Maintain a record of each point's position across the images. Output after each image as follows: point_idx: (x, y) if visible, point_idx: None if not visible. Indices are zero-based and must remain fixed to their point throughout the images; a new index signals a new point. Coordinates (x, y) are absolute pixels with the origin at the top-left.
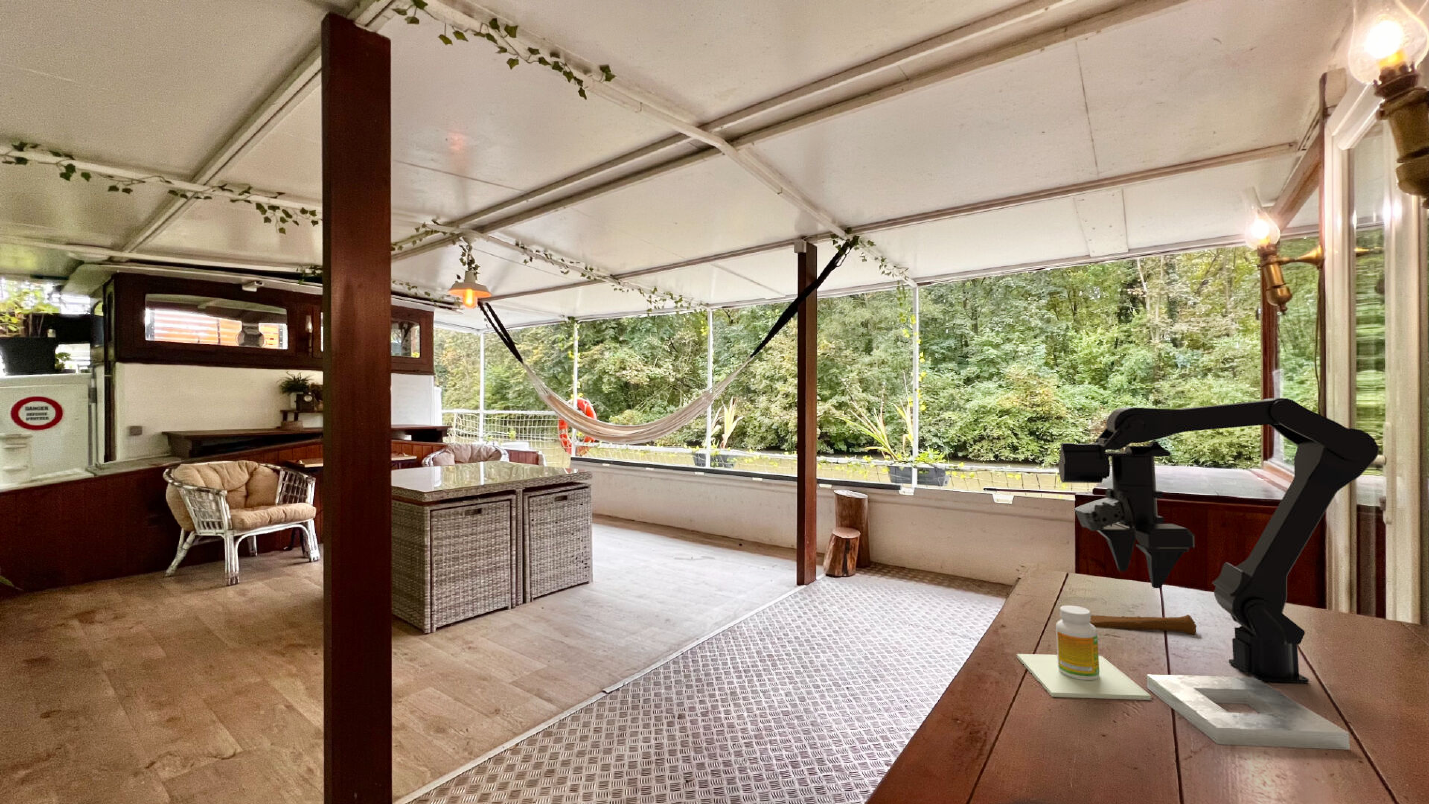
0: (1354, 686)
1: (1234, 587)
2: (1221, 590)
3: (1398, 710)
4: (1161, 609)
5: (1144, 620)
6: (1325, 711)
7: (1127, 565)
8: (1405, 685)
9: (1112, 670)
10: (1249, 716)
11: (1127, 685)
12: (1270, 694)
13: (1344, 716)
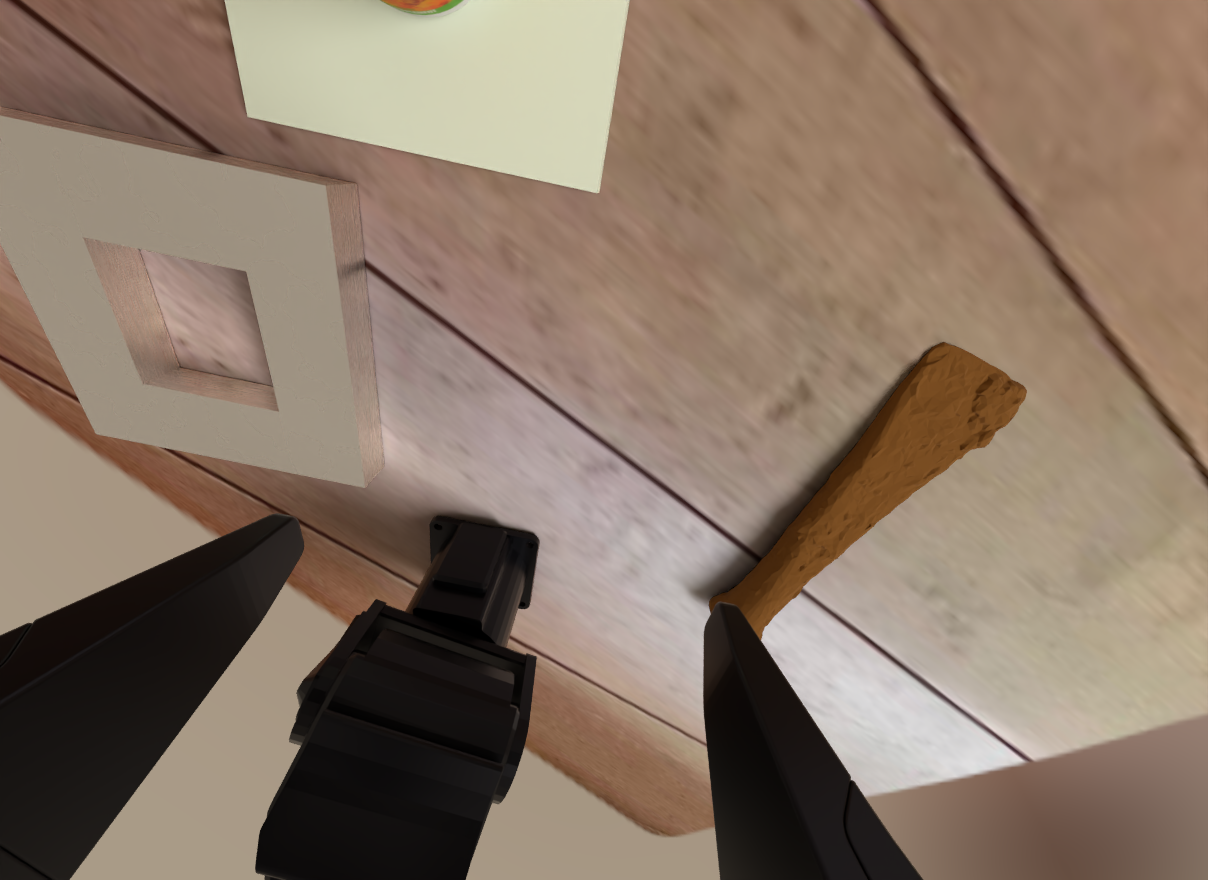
0: None
1: (324, 762)
2: (450, 738)
3: (344, 608)
4: (894, 657)
5: (800, 548)
6: (310, 511)
7: (706, 676)
8: None
9: (456, 129)
10: (84, 281)
11: (320, 84)
12: (261, 442)
13: None
